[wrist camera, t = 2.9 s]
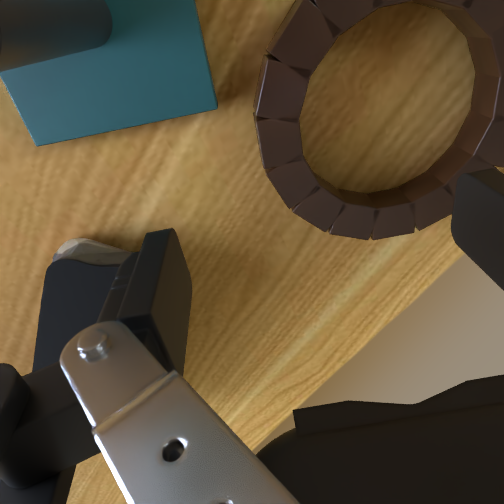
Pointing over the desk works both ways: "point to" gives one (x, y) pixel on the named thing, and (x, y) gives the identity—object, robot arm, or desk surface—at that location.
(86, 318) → the black board eraser
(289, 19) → the ring
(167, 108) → the post stand
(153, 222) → the desk surface
